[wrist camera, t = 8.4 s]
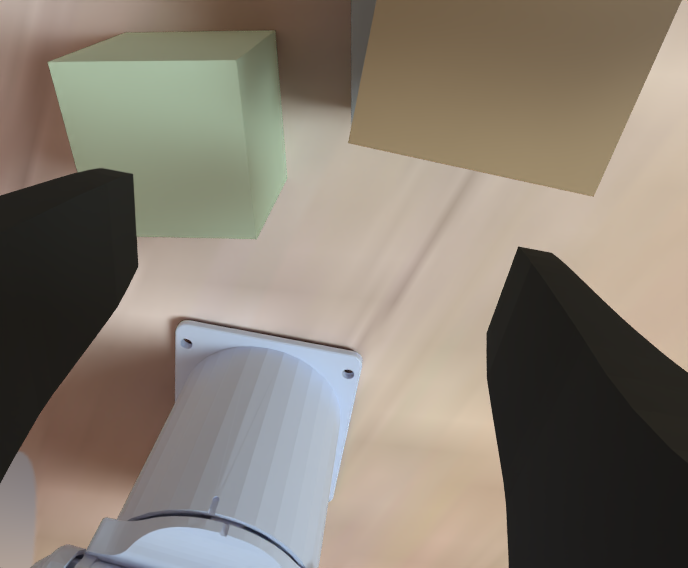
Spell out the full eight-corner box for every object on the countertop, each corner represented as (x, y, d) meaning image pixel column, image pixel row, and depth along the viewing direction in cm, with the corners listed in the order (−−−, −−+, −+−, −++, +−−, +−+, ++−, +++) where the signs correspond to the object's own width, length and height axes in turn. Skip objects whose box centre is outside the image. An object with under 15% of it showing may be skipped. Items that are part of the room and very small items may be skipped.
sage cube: (287, 177, 22) (256, 239, 17) (155, 176, 22) (94, 235, 18) (275, 29, 19) (236, 60, 15) (126, 32, 20) (47, 61, 15)
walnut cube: (546, 123, 16) (593, 196, 12) (366, 83, 16) (348, 142, 12) (627, -92, 13) (724, -96, 9) (411, -141, 13) (409, -167, 9)
